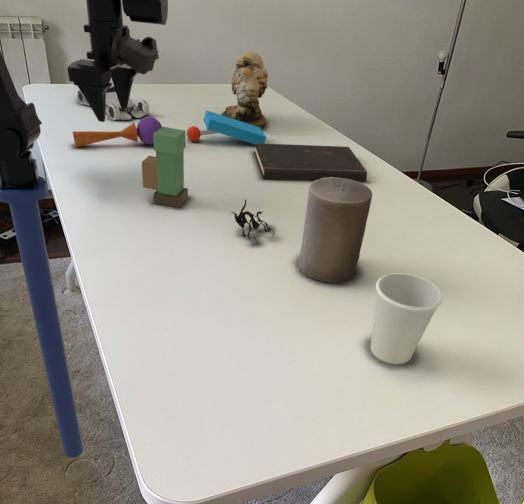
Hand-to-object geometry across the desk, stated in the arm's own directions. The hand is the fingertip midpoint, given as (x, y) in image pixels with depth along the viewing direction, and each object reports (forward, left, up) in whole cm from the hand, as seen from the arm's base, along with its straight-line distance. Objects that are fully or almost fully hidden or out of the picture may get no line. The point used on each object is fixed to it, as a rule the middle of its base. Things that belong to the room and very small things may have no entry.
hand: (113, 114), depth 103 cm
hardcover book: (+42, +9, -13) cm, 45 cm away
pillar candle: (+34, -35, -13) cm, 51 cm away
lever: (+25, +25, -13) cm, 38 cm away
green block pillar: (+6, -7, -11) cm, 14 cm away
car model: (-3, +50, -13) cm, 52 cm away
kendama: (0, +21, -13) cm, 25 cm away
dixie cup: (+37, -57, -13) cm, 69 cm away
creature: (+24, -23, -13) cm, 36 cm away
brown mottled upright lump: (+32, +41, -13) cm, 54 cm away
